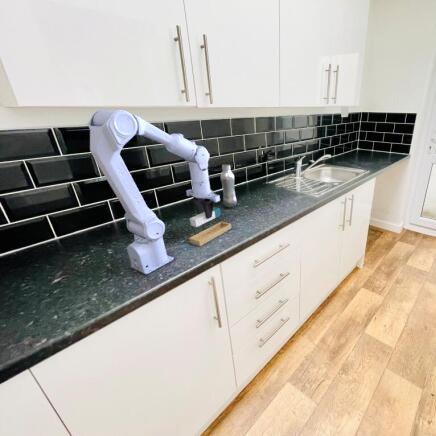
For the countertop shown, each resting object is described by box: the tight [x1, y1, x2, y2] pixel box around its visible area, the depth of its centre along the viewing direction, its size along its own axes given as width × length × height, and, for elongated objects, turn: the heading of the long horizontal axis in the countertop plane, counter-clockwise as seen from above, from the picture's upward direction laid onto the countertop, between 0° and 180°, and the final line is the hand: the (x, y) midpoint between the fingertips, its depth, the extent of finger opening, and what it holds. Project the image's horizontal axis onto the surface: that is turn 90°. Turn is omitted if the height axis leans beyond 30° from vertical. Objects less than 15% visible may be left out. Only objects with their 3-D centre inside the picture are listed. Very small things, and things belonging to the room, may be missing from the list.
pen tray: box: [188, 221, 233, 247], centre depth 96 cm, size 16×5×2 cm, turn 150°
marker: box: [189, 206, 222, 228], centre depth 94 cm, size 12×3×3 cm, turn 151°
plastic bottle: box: [220, 163, 238, 208], centre depth 120 cm, size 6×7×20 cm
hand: (206, 216), depth 94 cm, fingers closed on marker, 3 cm apart
